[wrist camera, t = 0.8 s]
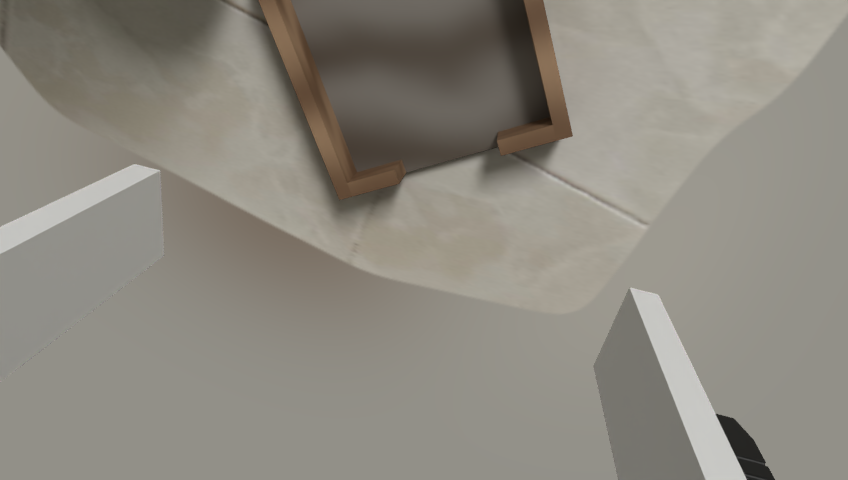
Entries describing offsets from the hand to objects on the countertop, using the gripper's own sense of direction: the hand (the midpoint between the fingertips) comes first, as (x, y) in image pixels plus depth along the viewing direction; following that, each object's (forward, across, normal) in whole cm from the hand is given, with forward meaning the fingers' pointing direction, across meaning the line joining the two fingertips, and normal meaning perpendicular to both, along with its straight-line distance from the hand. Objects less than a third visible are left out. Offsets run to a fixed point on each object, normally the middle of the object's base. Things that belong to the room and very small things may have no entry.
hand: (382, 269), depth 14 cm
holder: (+23, -3, +3) cm, 24 cm away
